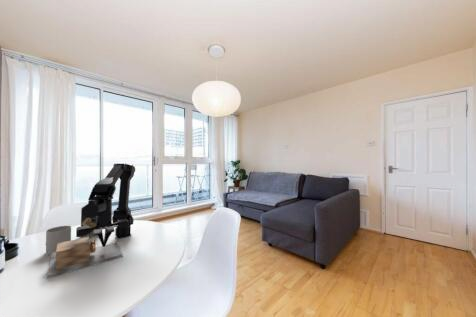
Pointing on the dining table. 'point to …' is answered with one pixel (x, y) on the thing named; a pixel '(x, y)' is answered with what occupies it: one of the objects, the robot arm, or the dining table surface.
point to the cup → (57, 237)
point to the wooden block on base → (80, 256)
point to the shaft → (92, 249)
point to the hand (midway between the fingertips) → (103, 246)
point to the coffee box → (85, 222)
